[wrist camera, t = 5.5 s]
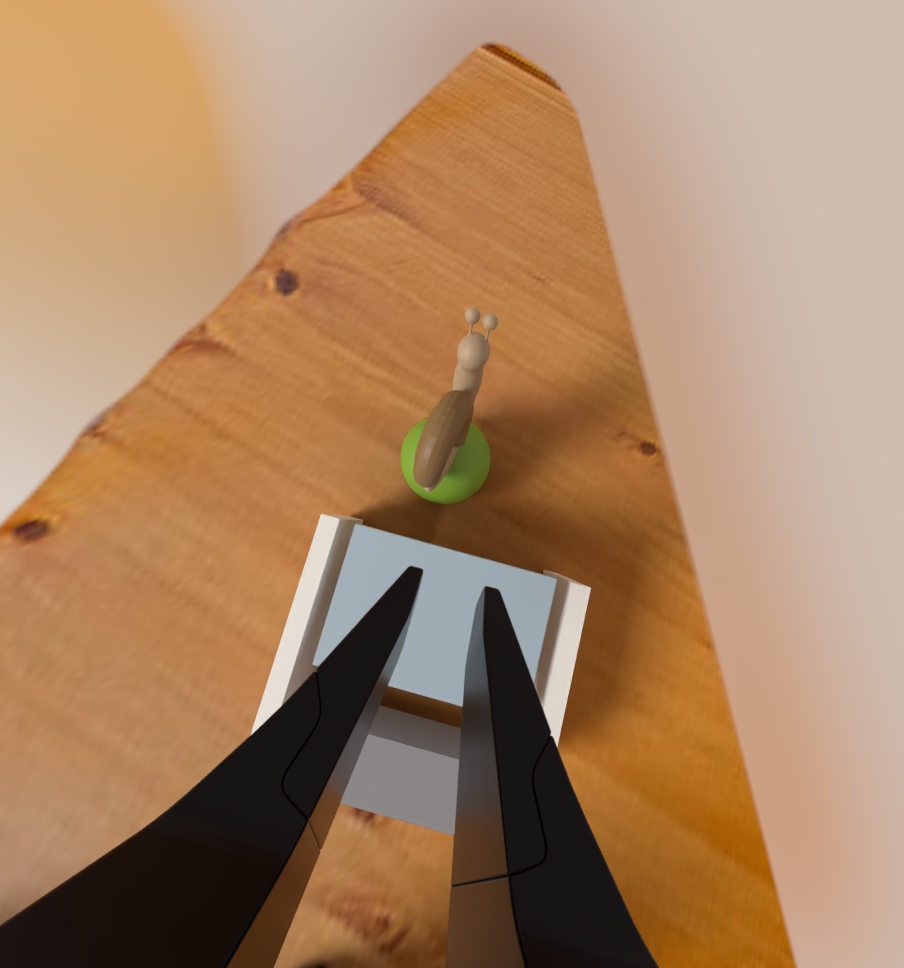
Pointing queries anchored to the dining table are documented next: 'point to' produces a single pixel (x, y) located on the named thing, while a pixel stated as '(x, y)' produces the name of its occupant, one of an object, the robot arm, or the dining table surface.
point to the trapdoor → (425, 664)
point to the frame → (316, 601)
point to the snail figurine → (452, 430)
